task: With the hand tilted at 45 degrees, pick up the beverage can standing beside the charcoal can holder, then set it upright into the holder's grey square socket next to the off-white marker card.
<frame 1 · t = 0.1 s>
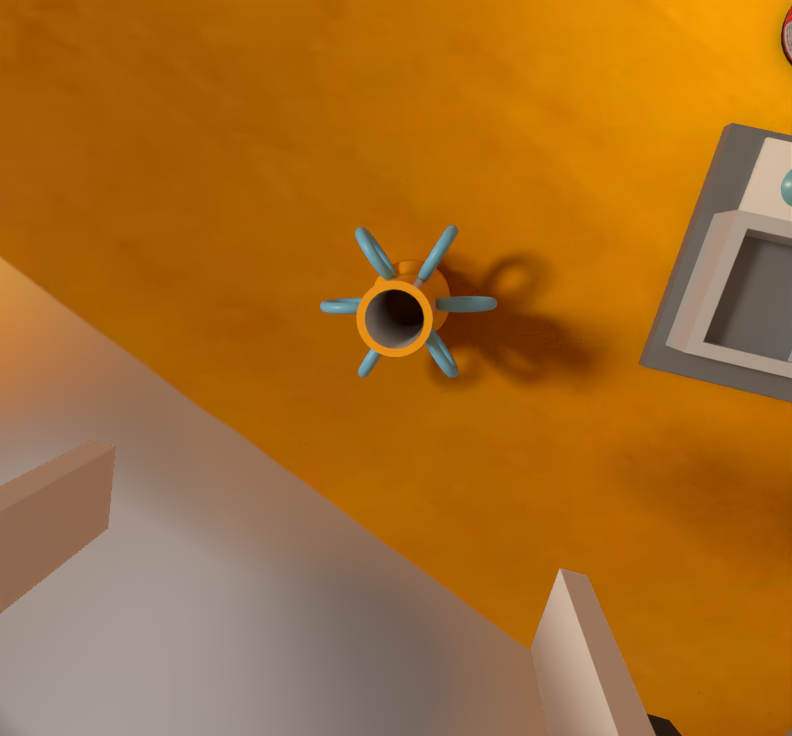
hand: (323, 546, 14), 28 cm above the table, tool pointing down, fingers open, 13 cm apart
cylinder: (414, 296, 40), on the table
can holder: (758, 270, 36), on the table
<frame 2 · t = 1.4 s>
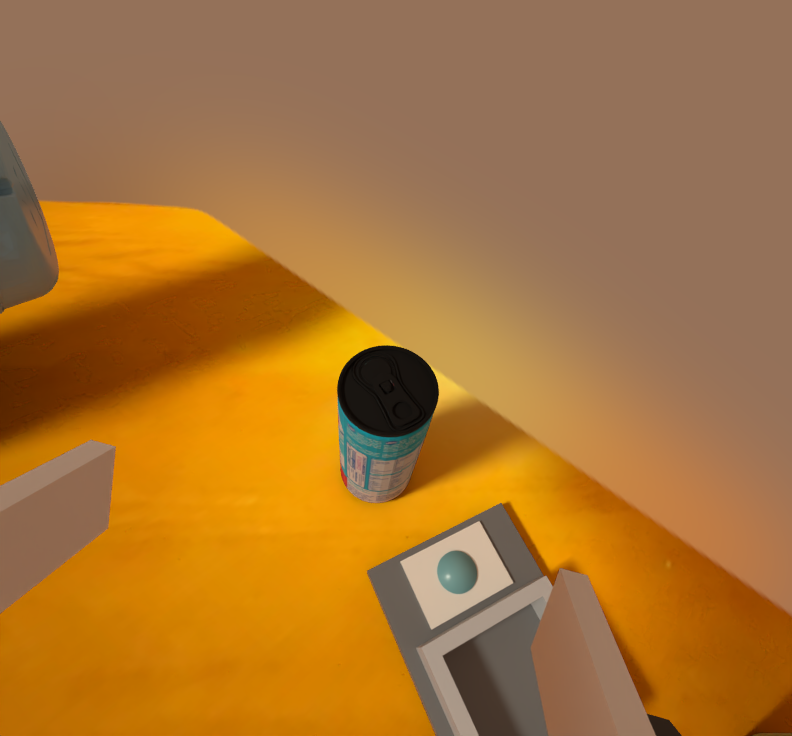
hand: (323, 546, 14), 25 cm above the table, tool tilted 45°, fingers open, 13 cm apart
beverage can: (375, 471, 41), on the table
can holder: (494, 655, 35), on the table
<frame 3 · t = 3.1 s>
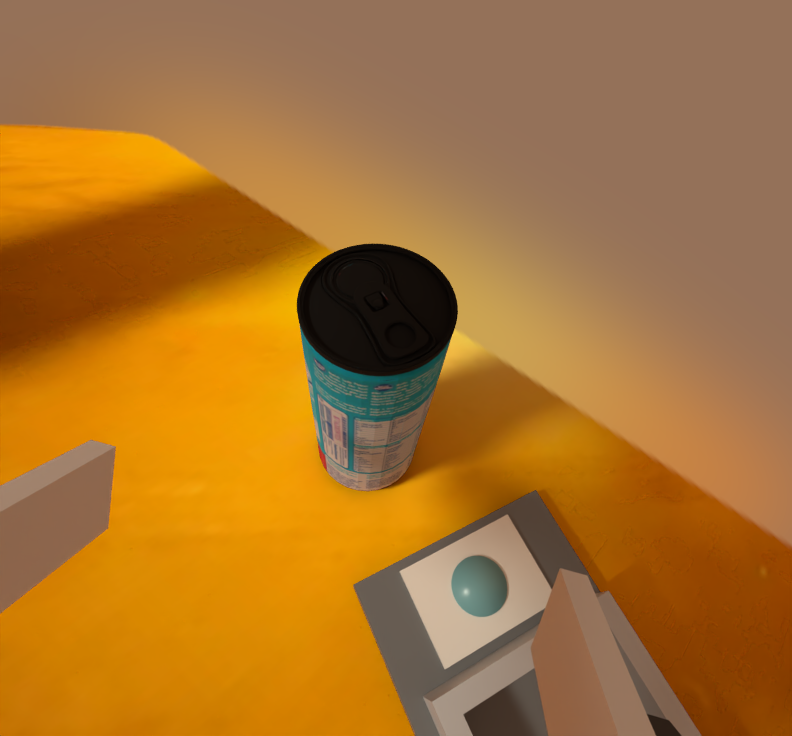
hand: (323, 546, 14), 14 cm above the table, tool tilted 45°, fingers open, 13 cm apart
beverage can: (366, 449, 31), on the table
can holder: (534, 704, 24), on the table
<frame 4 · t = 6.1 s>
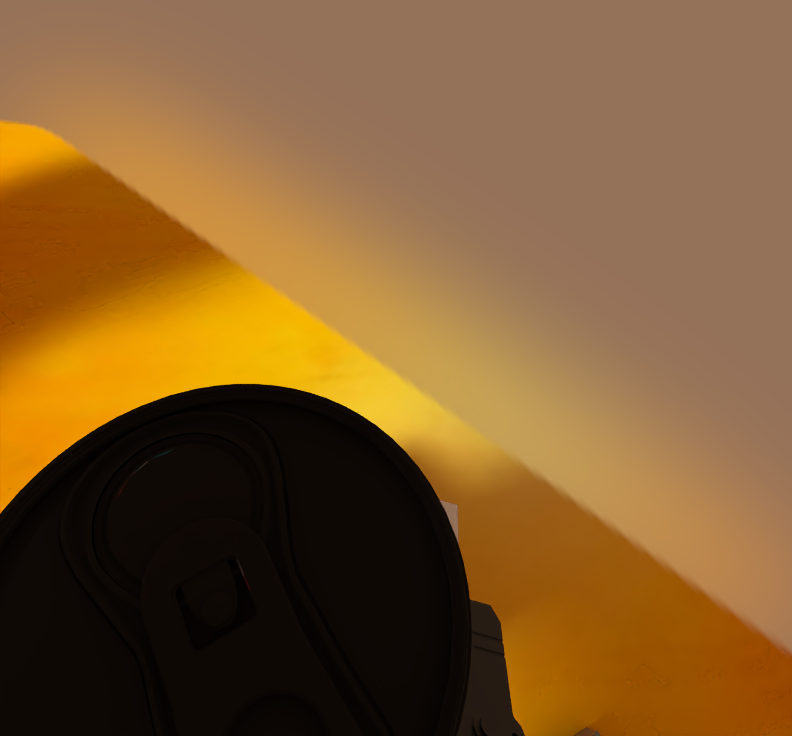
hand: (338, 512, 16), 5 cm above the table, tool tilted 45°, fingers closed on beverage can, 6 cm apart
beverage can: (310, 641, 18), on the table, touching gripper
when the fingers open (8 cm above the table, at t = 12.1 s): beverage can drops 1 cm, resting on can holder.
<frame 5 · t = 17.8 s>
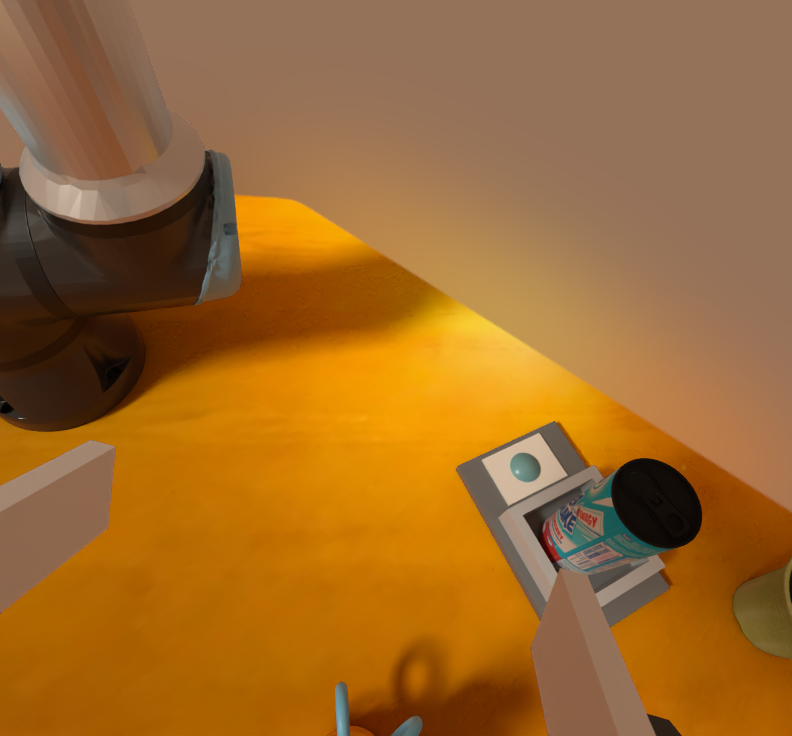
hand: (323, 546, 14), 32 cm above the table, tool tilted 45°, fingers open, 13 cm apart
plant pot: (763, 618, 44), on the table
beverage can: (567, 544, 45), point 1 cm above the table, touching can holder
can holder: (555, 526, 46), on the table
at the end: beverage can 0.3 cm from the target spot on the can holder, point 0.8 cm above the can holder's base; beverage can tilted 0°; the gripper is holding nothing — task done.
